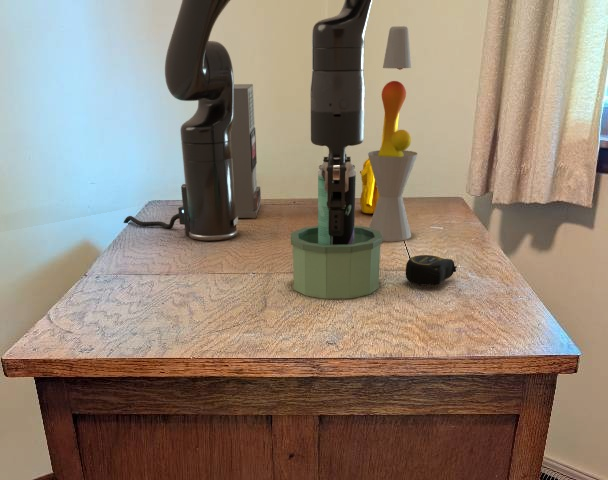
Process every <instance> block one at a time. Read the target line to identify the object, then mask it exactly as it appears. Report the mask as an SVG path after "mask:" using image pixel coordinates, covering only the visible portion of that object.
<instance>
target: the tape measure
mask: <svg viewBox="0 0 608 480" xmlns="http://www.w3.org/2000/svg"><path fill="white" fill-rule="evenodd" d="M457 267H458V266H457V265H455V261H454V260H453V259H451V258H442V257H440V256H438V255H433V254H432V255H431V254H419V255H413V256H411V257H410V258H409V259H408V260H407V262H406V264H405V278H406V280H407V282H409V283H412V284H414V285H418V286H439V285H441V284H442V283H443V282H444V281H446V280H448V279H450V278H451V277H452V276H453V274H454V273H457Z"/></svg>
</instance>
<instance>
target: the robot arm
mask: <svg viewBox="0 0 608 480" xmlns="http://www.w3.org/2000/svg"><path fill="white" fill-rule="evenodd" d="M230 1H231V0H181V3H180V7H179V11H178V14H177V18H176V20H175V23H174V27H173V30H172V33H171V36H170V40H169V44H168V45H167V46H168V47H167V51H166V54H165V61H164V78H165V79H164V80H165V84H166V87H167V90H168V91H169V93H170V95H171V96H172V97H173V98H174V99H176V100H177V101H182V102H196V101H197V108H196V111H195V113H194V114H193V115H191V117H190V118H189V119H187V120H186V121H185V122H183V123H182V124H181V126H180V131H179V132H180V141H181V153H182V154H181V155H182V163H183V164H182V165H183V176H184V183H183V184H181V185H180V190H181V200H182V201H181V202H182V206H179V207H177V211H178V213H176V214H174V215H172V217H171V218H170V220H169V223H167V222H164V221H158V220H157V221H156V220H155V221H141V220H139V219H137V218H136V217H134V216H132V215H128V216H127V217H125V218H124V220H123V224H128V223H129V222H130V221H131V222H132V223H134V224H135V225H138V226H140V227H161V228H162V227H163V228H165V229H167V230H170V229H173V227H174V225H175V222H176V221H177V220H178V221H179V225H182V226H184V232H185V233H184V234H185V236H186V237H189V238H190V239H193V240H197V241H208V242H209V241H222V240H223V241H225V240H229V239H232V238H234V237H236V236H238V229H237V224H238V223H239V218H238V217H237V218H236V212H235V195H234V178H233V161H232V145H231V130H232V126H233V122H234V84H235V82H234V81H235V80H234V68H233V63H232V59H231V56H230V53H229V51H228V50H227V48H226V47H225V46H224V45H223V44H222V43H221V42H219V41H216V40H210V37H211V34H212V31H213V29H214V26H215V24H216V22H217V21H218V19H219V17H220V15H221V14H222V13H223V12H224V10H225V8H226V7H227V6H228V4H229V3H230ZM372 5H373V0H344V3H343V5H342V7H341V10H340V11H339V13H338V14H337V15H335V16H332V17H327V18H324V19H321V20H318V21H317V22H315V24H314V25H313V27H312V31H311V32H312V33H311V70H312V71H311V81H310V141H311V143H312V144H313V145H315V146H318V147H319V146H320V147H326V148H327V149H328V156H323V159H322V164H323V171H324V172H325V192H326V193H327V194H328V202H327V207H328V210H329V235H330V236H342V235H343V233H344V210H345V207H346V202H345V194H346V193H347V192H348V182H349V171H350V167H351V164H352V162H351V156H347V153H346V148H347V147H348V146H349V147H353V146H359V145H361V144H362V143H363V142H364V137H365V108H366V107H365V104H366V101H365V99H366V86H365V85H366V83H365V73H364V68H365V36H366V31H367V28H368V27H367V26H368V22H369V18H370V13H371V9H372ZM328 157H329V158H328ZM345 157H346V158H347V159H345ZM327 158H328V159H327ZM346 169H347V170H346ZM337 192H338V193H341V194H342V199H331V194H332V193H337Z"/></svg>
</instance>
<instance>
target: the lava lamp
mask: <svg viewBox="0 0 608 480" xmlns="http://www.w3.org/2000/svg"><path fill="white" fill-rule="evenodd" d="M387 36H388V37H387V42H386V48H385V53H384V59H383V64H382V69H397V70H399V71H401V70H404V69H411V68H412V61H411V50H410V49H411V47H410V35H409V27H407V26H405V25H403V26H399V25H398V26H391V27H390V28H389V30H388V35H387ZM406 90H407V89H406V87H405V86H404V84H403V83H402V82H400V81H398V80H391V81H389V82H387V83H386V84H385V85H384V86H383V88H382V90H381V101H382V105H383V109H384V115H385V119H386V121H385V133H384V139H383V143H382V142H381V144H382V146H381V145H380V149H379V150H373V151H369V152H368V153H367V155H368V158H369V160H370V163H371V167H372V171H373V174H374V178H375V181H376V185H377V189H378V192H379V199H378V202H377V205H376V208H375V211H374V213H372V214H373V215H372V216H371V220H370V223H369V226H368V228H371V229H374V230H377V231H380V232H381V235H382V237H383V242H402V241H407V240H409V239H411V238H412V234H411V230H410V225H409V221H408V216H407V212H406V207H405V203H404V198H403V194H404V191H405V188H406V186H407V183H408V181H409V178H410V176H411V173H412V170H413V167H414V164H415V162H416V161H417V157H418V152H416V151H412V150H408V148H409V147H410V146H411V143H412V136H411V134H410V132H408V131H407V130H405V129H397V131H396V132H395V126H396V120H397V117H398V114H399V115H400V111H401V109H402V106H403V104H404V102H405V100H406V97H407V91H406Z"/></svg>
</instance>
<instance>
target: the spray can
mask: <svg viewBox="0 0 608 480" xmlns="http://www.w3.org/2000/svg"><path fill="white" fill-rule="evenodd" d="M327 157H328V156H327ZM346 157H347V156H346ZM346 157H345V159H347V158H346ZM328 158H329V157H328ZM328 158H327V159H328ZM355 169H356V165H355V164H352V163H351V167H350V171H349V182H348V192H347V193H346V194H345V202H346V207H345V210H344V233H343V235H342V236H330V235H329V210H328V207H327V202H328V194H327V193H326V192H325V172H324V171H323V163H322V164H320V165H318V172H317V226H318V244H324V245H349V244H354V226H355V221H356V219H355V217H356V214H355V213H356V181H357V180H356V179H357V177H356V176H357V175H356V174H357V172H356V170H355ZM346 170H347V169H346ZM331 199H342V194H341V193H338V192H337V193H332V194H331Z"/></svg>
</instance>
